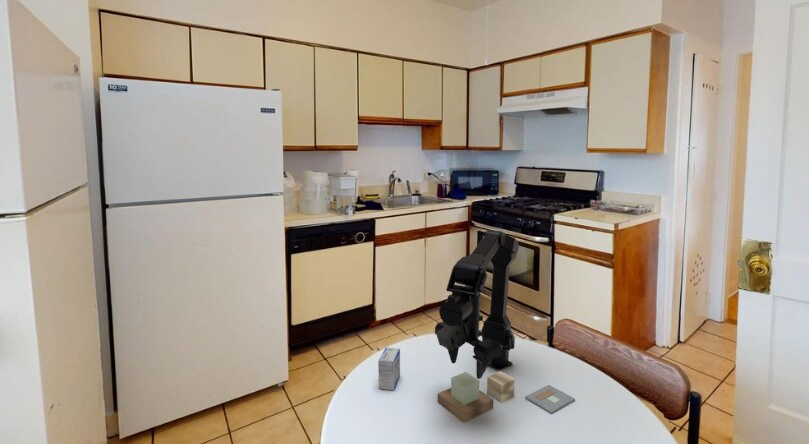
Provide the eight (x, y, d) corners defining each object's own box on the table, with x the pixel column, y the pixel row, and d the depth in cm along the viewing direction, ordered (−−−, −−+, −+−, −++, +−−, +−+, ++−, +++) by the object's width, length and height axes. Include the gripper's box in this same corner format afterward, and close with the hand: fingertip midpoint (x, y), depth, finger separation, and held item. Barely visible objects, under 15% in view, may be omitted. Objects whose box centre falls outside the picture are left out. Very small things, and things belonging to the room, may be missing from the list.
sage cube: (465, 389, 111) (466, 371, 110) (478, 398, 107) (479, 380, 106) (450, 395, 108) (451, 377, 107) (463, 405, 104) (464, 386, 103)
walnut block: (465, 391, 115) (466, 381, 114) (493, 410, 107) (493, 399, 106) (437, 404, 109) (437, 393, 109) (463, 424, 101) (464, 413, 101)
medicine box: (394, 391, 114) (394, 361, 113) (378, 389, 115) (378, 359, 114) (400, 376, 122) (400, 348, 120) (385, 374, 123) (385, 346, 121)
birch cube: (499, 387, 116) (500, 371, 115) (513, 396, 112) (514, 379, 111) (486, 393, 113) (487, 376, 112) (501, 402, 109) (501, 385, 108)
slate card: (548, 386, 117) (548, 384, 116) (574, 400, 110) (575, 398, 110) (525, 398, 111) (525, 396, 111) (551, 414, 104) (551, 411, 104)
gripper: (418, 307, 107) (418, 364, 109) (470, 333, 92) (468, 398, 94) (451, 298, 113) (450, 352, 116) (505, 321, 98) (502, 383, 101)
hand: (465, 370), depth 106 cm, fingers open, 9 cm apart
